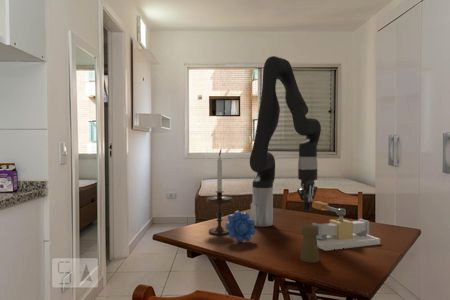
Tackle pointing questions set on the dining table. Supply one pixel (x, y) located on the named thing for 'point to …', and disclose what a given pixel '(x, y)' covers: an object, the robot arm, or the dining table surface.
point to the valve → (344, 234)
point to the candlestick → (219, 201)
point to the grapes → (240, 226)
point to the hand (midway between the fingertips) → (307, 210)
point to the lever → (328, 207)
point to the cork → (309, 244)
